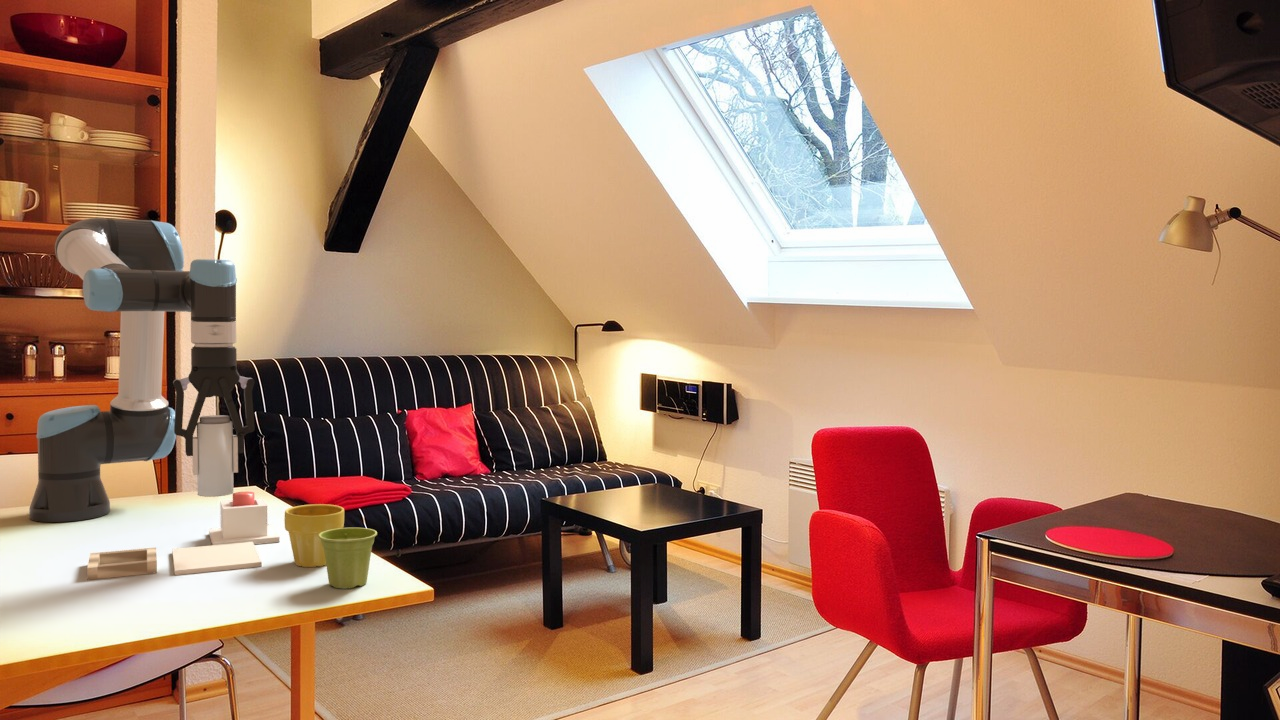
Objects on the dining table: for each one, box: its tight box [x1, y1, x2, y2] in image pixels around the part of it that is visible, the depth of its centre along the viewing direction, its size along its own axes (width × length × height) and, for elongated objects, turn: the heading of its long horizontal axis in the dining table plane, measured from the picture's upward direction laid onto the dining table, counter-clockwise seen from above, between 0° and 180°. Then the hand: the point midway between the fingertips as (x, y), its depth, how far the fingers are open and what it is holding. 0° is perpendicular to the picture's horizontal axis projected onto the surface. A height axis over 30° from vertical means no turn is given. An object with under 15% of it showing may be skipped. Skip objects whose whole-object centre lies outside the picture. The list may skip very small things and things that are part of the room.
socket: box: [86, 547, 158, 581], centre depth 172 cm, size 10×10×2 cm
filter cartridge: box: [196, 414, 234, 498], centre depth 177 cm, size 6×6×14 cm
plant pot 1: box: [284, 503, 345, 568], centre depth 177 cm, size 10×10×10 cm
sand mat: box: [172, 542, 263, 576], centre depth 178 cm, size 16×14×1 cm
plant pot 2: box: [319, 527, 378, 589], centre depth 165 cm, size 9×9×9 cm
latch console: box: [208, 497, 280, 545], centre depth 194 cm, size 12×12×7 cm
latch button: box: [232, 491, 255, 507], centre depth 194 cm, size 4×4×5 cm
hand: (215, 472), depth 177 cm, fingers closed on filter cartridge, 6 cm apart
